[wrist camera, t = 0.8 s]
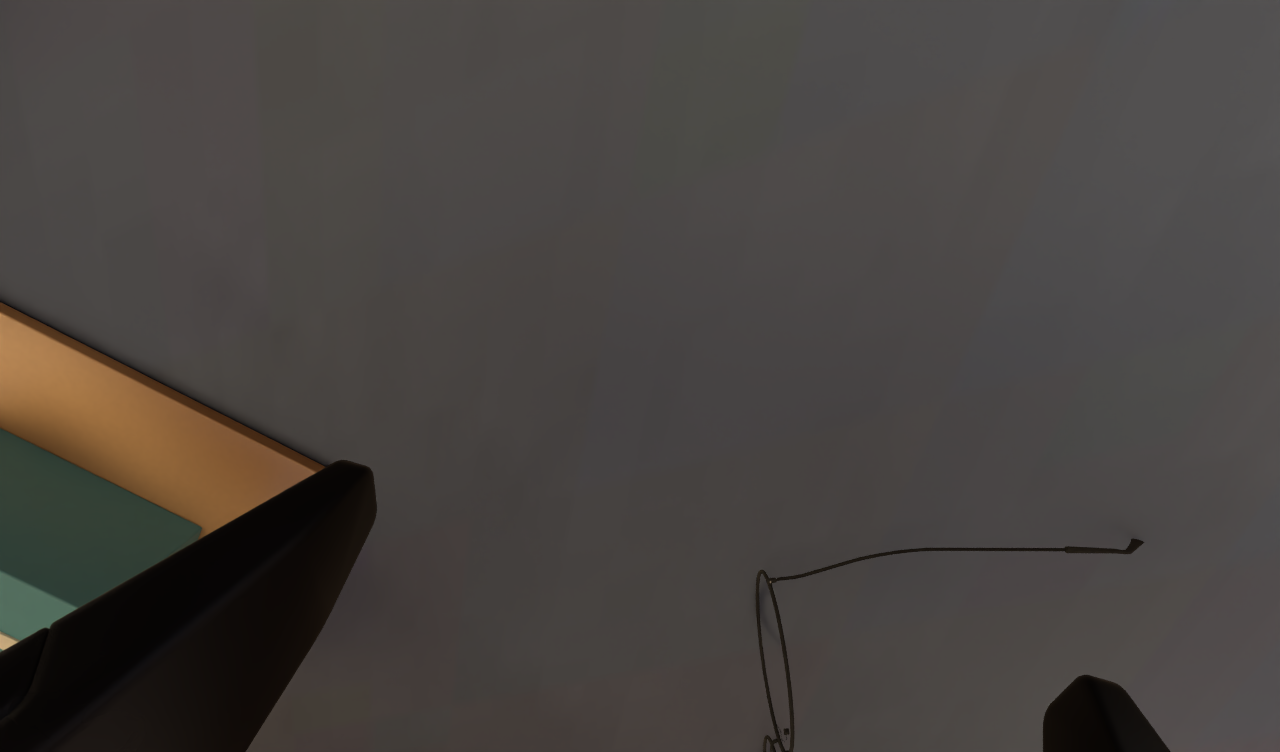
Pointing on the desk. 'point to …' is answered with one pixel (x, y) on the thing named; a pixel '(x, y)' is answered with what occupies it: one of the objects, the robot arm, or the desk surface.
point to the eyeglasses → (1132, 547)
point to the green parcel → (70, 537)
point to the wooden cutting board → (135, 428)
